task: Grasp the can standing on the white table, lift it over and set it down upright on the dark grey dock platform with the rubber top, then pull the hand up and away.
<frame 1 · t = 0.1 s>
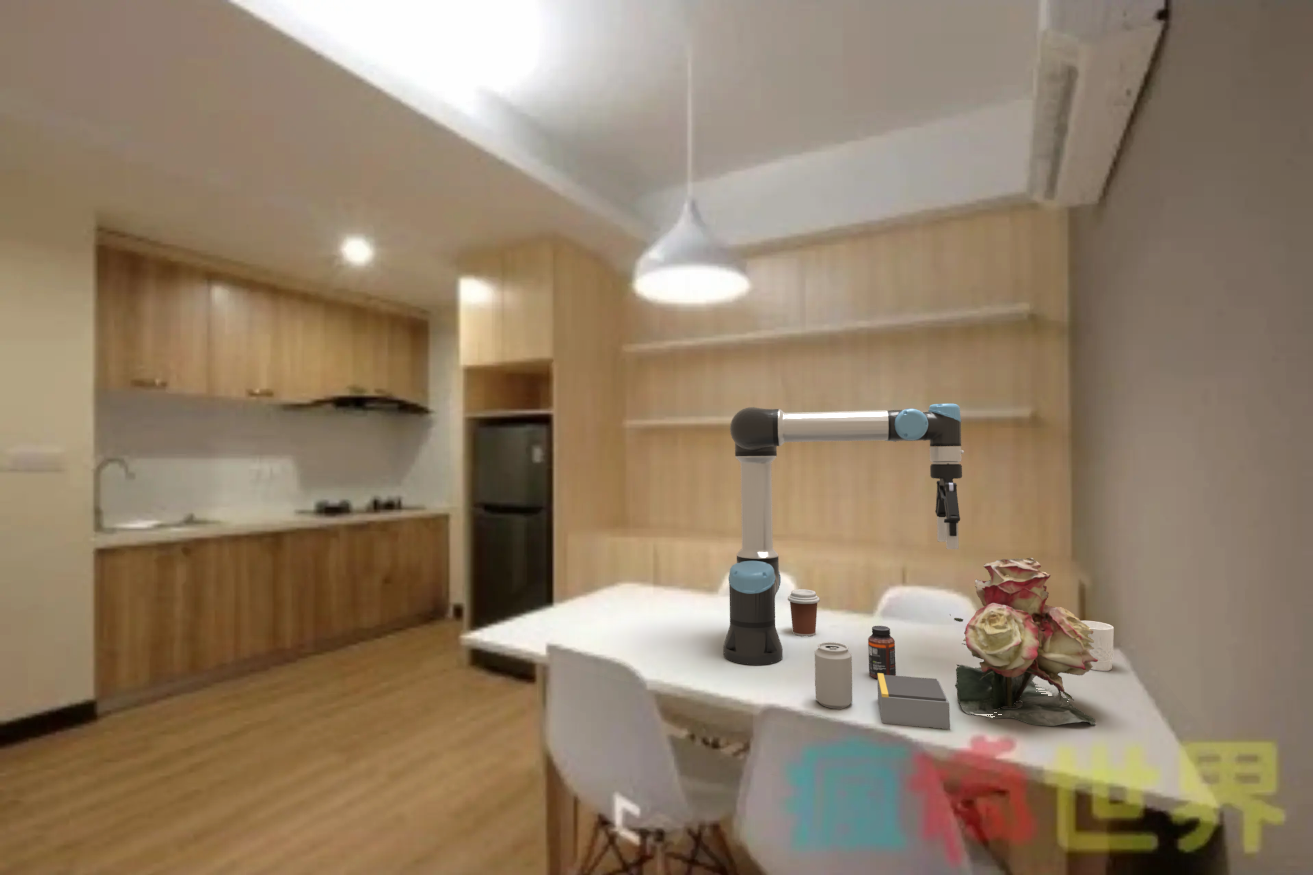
hand: (947, 545, 165), 28 cm above the table, tool pointing down, fingers open, 13 cm apart
dock: (911, 713, 127), on the table
white cup: (1094, 667, 154), on the table
can: (833, 703, 133), on the table
rose bouquet: (1023, 704, 132), on the table
supplement bottle: (882, 677, 149), on the table
coffee cup: (804, 633, 184), on the table
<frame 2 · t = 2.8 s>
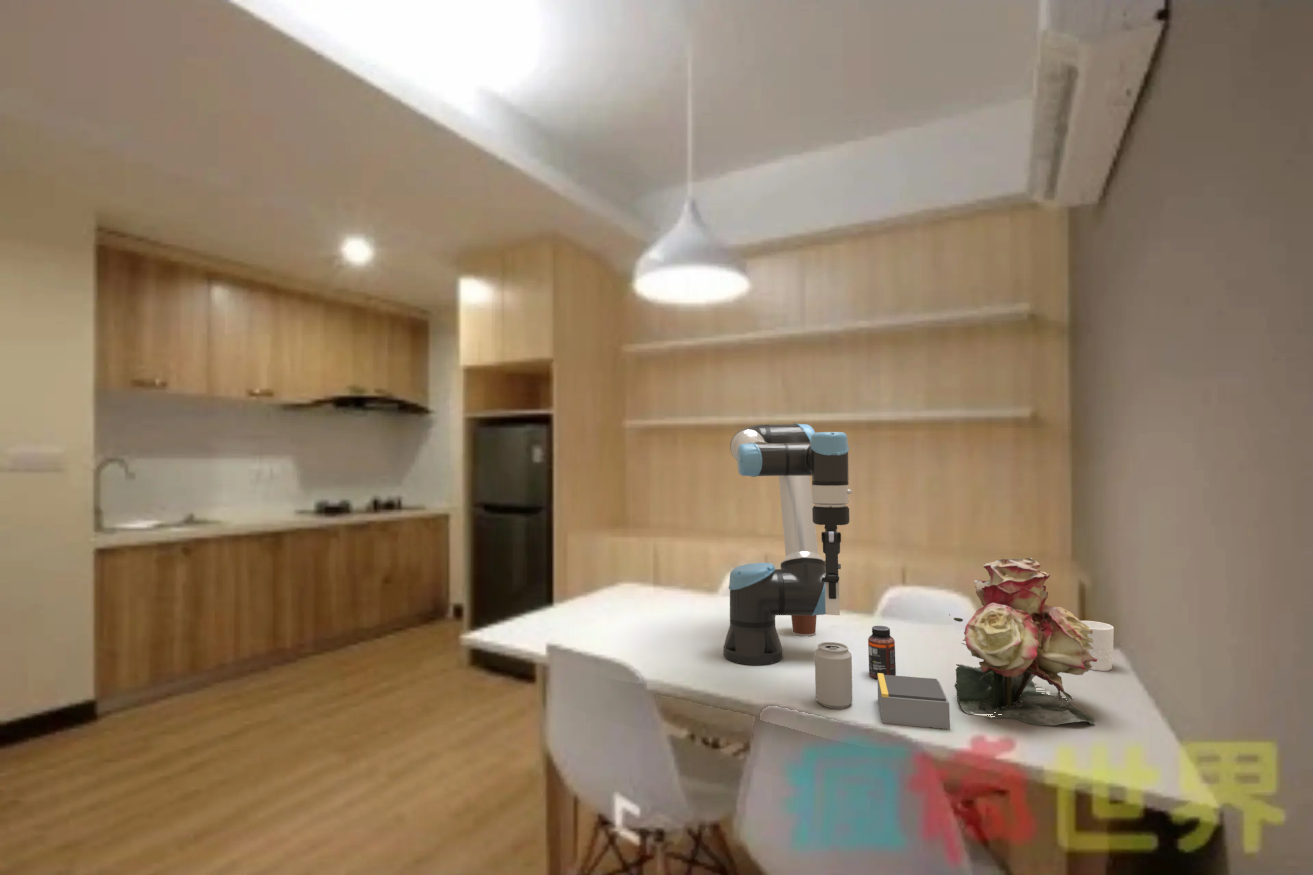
hand: (832, 606, 134), 20 cm above the table, tool pointing down, fingers open, 13 cm apart
nothing on the table moved.
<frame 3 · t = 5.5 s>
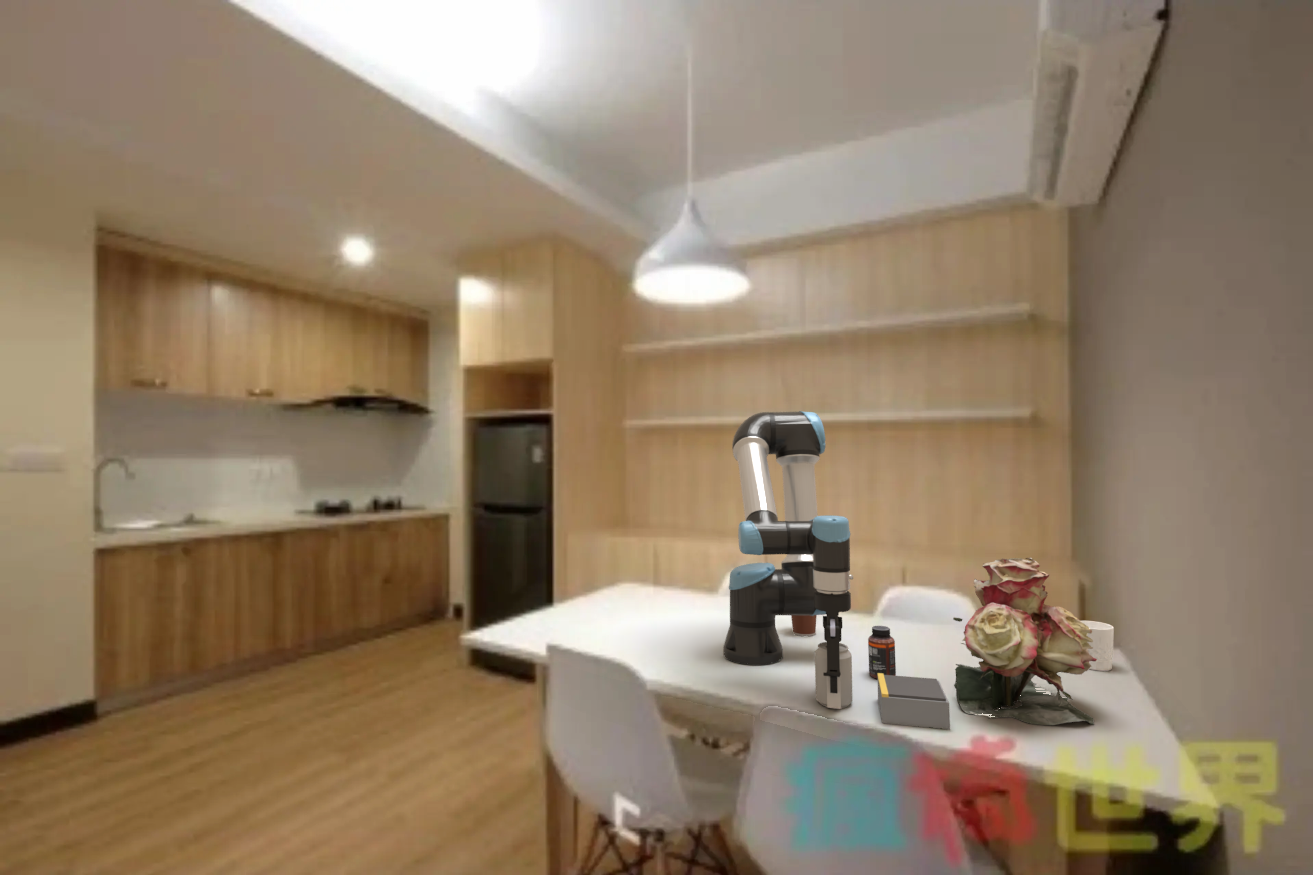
hand: (833, 699, 133), 1 cm above the table, tool pointing down, fingers closed on can, 7 cm apart
can: (833, 703, 133), on the table, touching gripper
everything else where it was.
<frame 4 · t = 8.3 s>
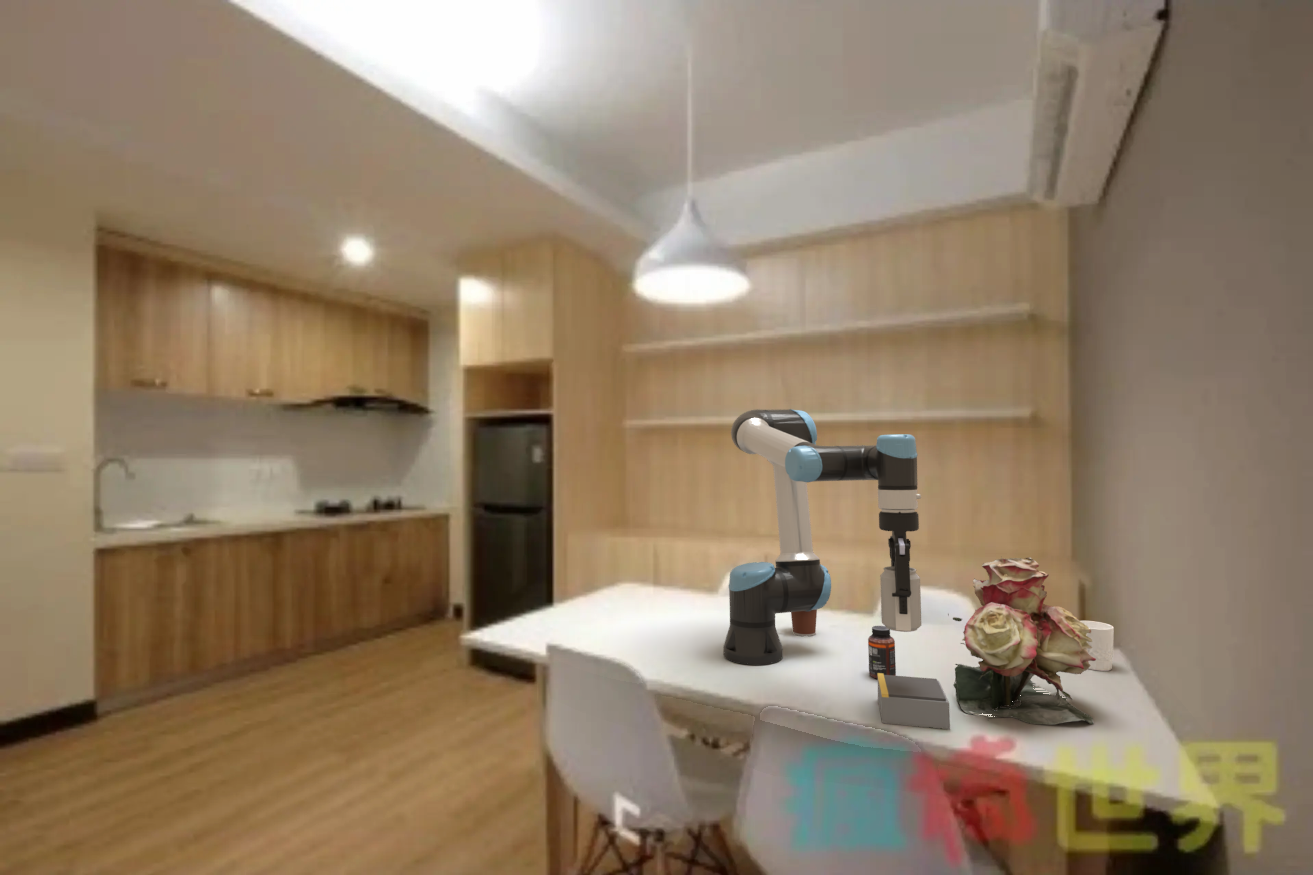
hand: (901, 624, 128), 18 cm above the table, tool pointing down, fingers closed on can, 7 cm apart
can: (901, 628, 128), point 17 cm above the table, touching gripper
everything else where it was.
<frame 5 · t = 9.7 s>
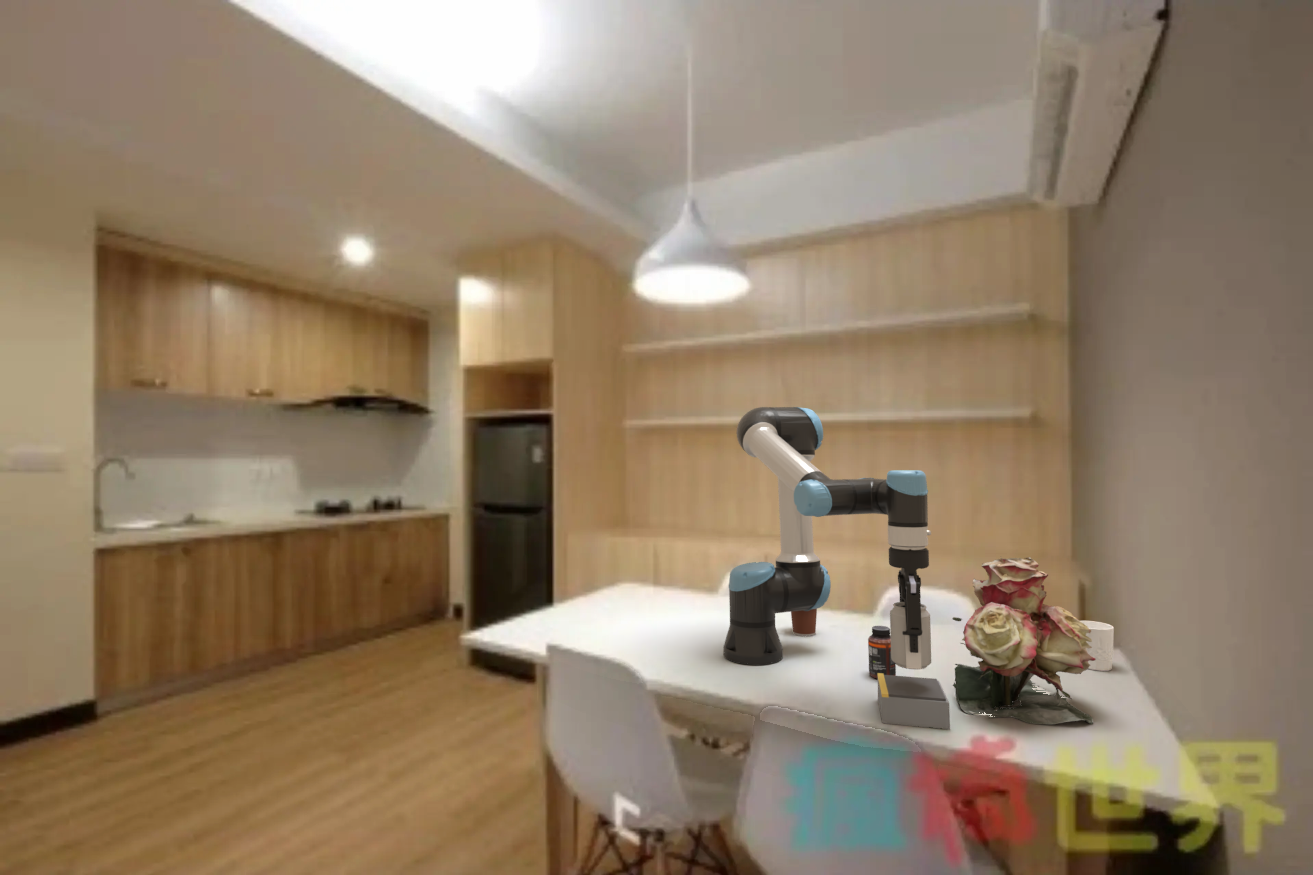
hand: (911, 661, 127), 10 cm above the table, tool pointing down, fingers closed on can, 7 cm apart
can: (911, 665, 127), point 10 cm above the table, touching gripper
everything else where it was.
when the fingers open (8 cm above the table, at t = 11.0 s): can drops 1 cm, resting on dock.
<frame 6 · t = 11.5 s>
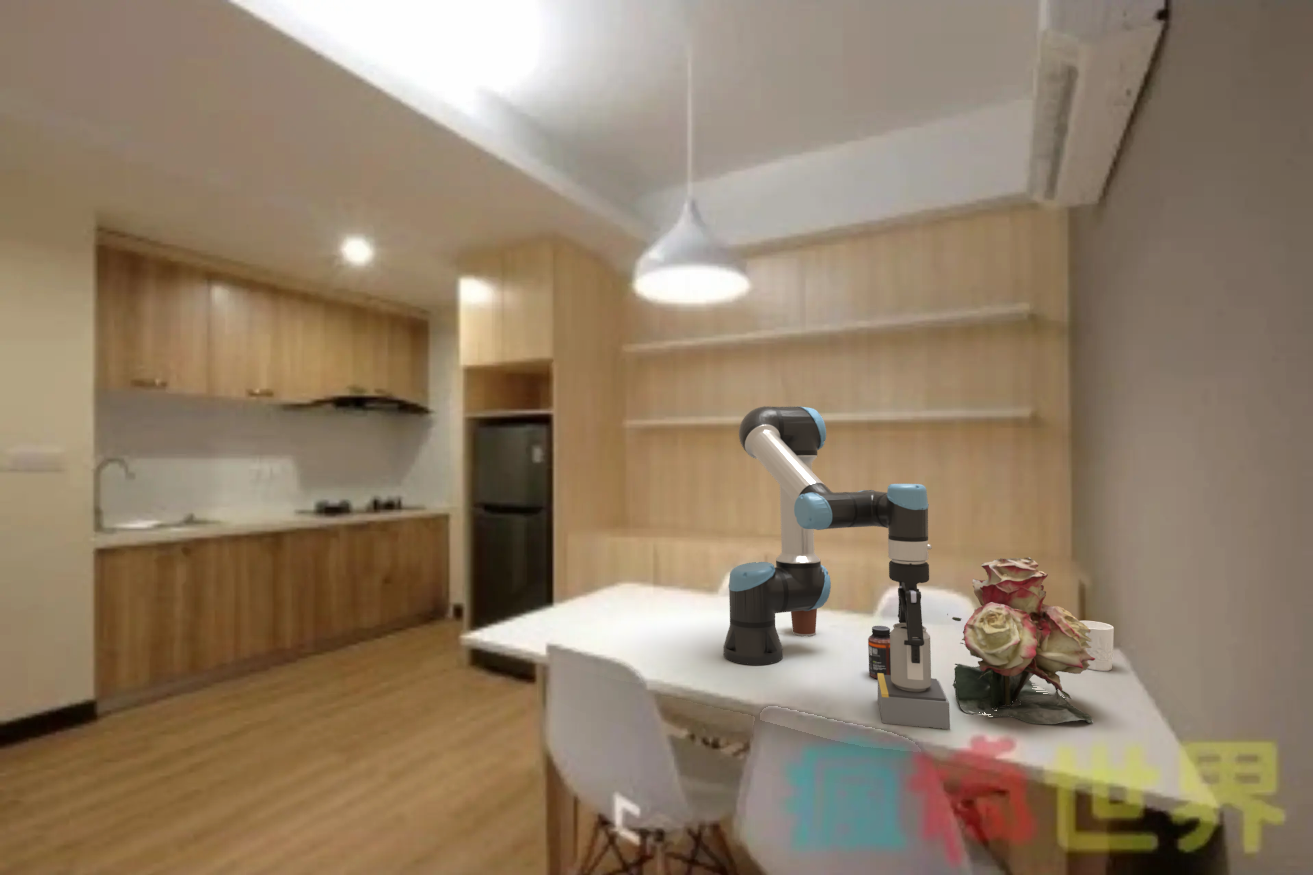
hand: (910, 667, 127), 9 cm above the table, tool pointing down, fingers open, 13 cm apart
can: (910, 687, 127), point 5 cm above the table, touching dock
everything else where it was.
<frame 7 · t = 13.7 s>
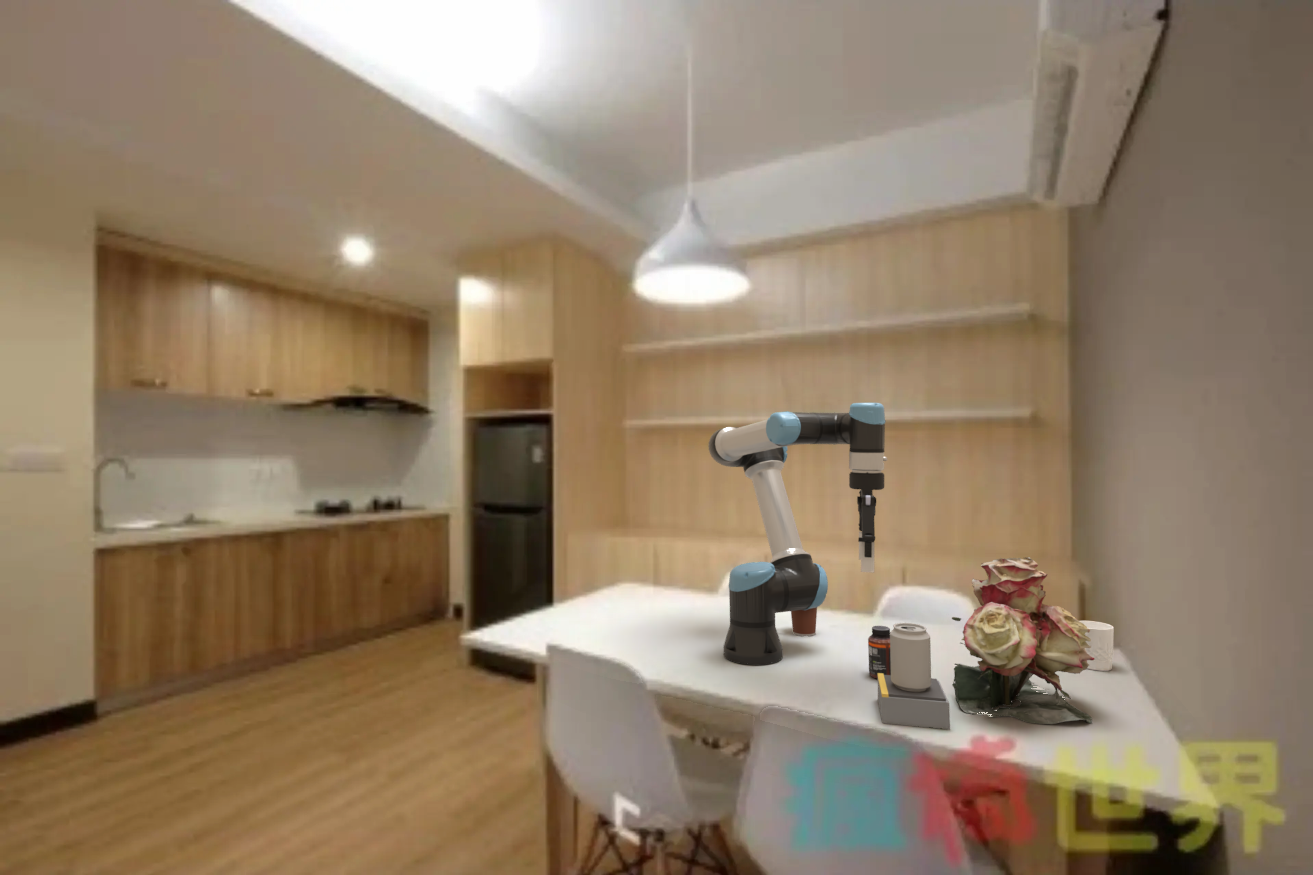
hand: (866, 565, 143), 27 cm above the table, tool pointing down, fingers open, 13 cm apart
nothing on the table moved.
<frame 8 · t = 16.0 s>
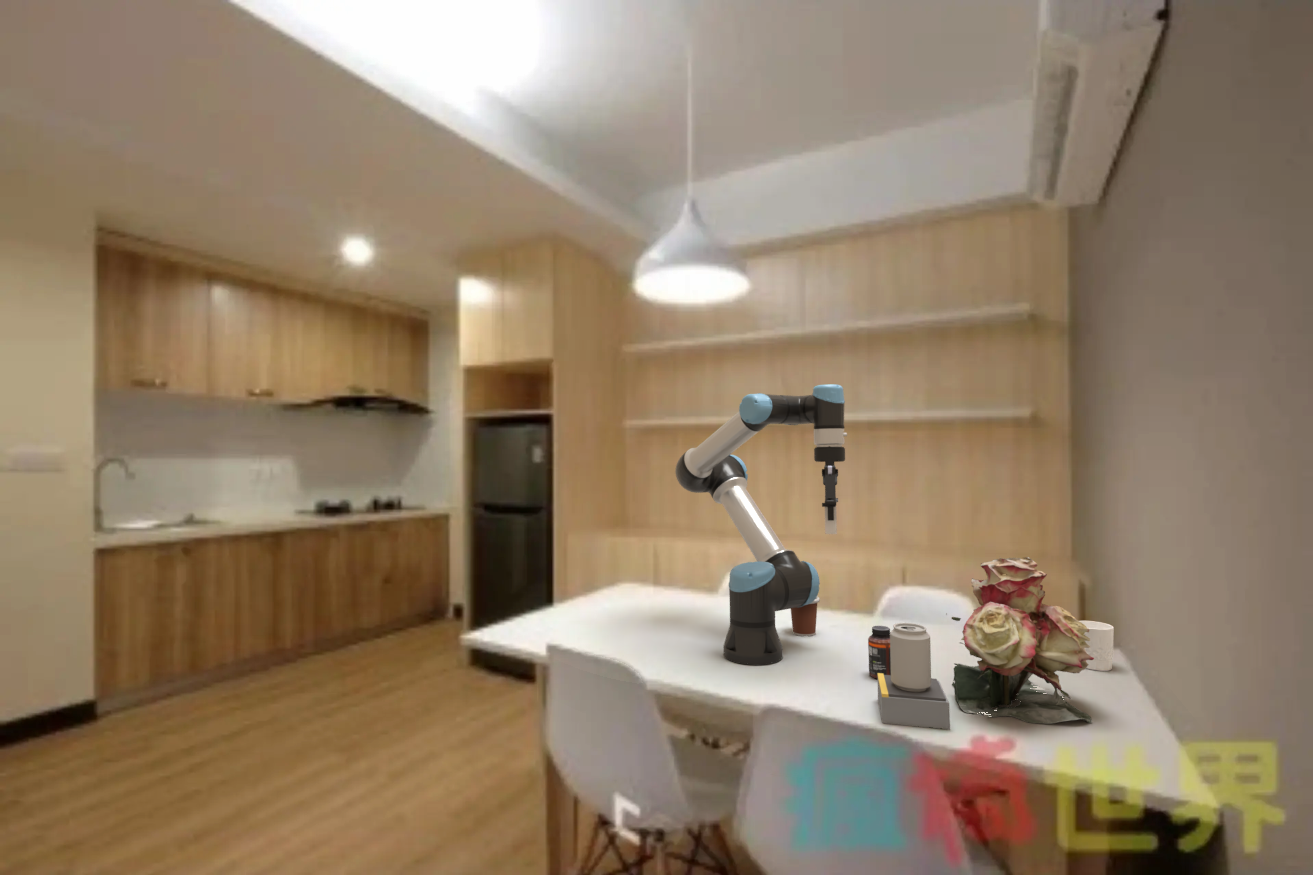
hand: (830, 530, 160), 33 cm above the table, tool pointing down, fingers open, 13 cm apart
nothing on the table moved.
at the end: can inside the target area (0.2 cm from its centre), point 5.3 cm above the table; can tilted 0°; the gripper is holding nothing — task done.
